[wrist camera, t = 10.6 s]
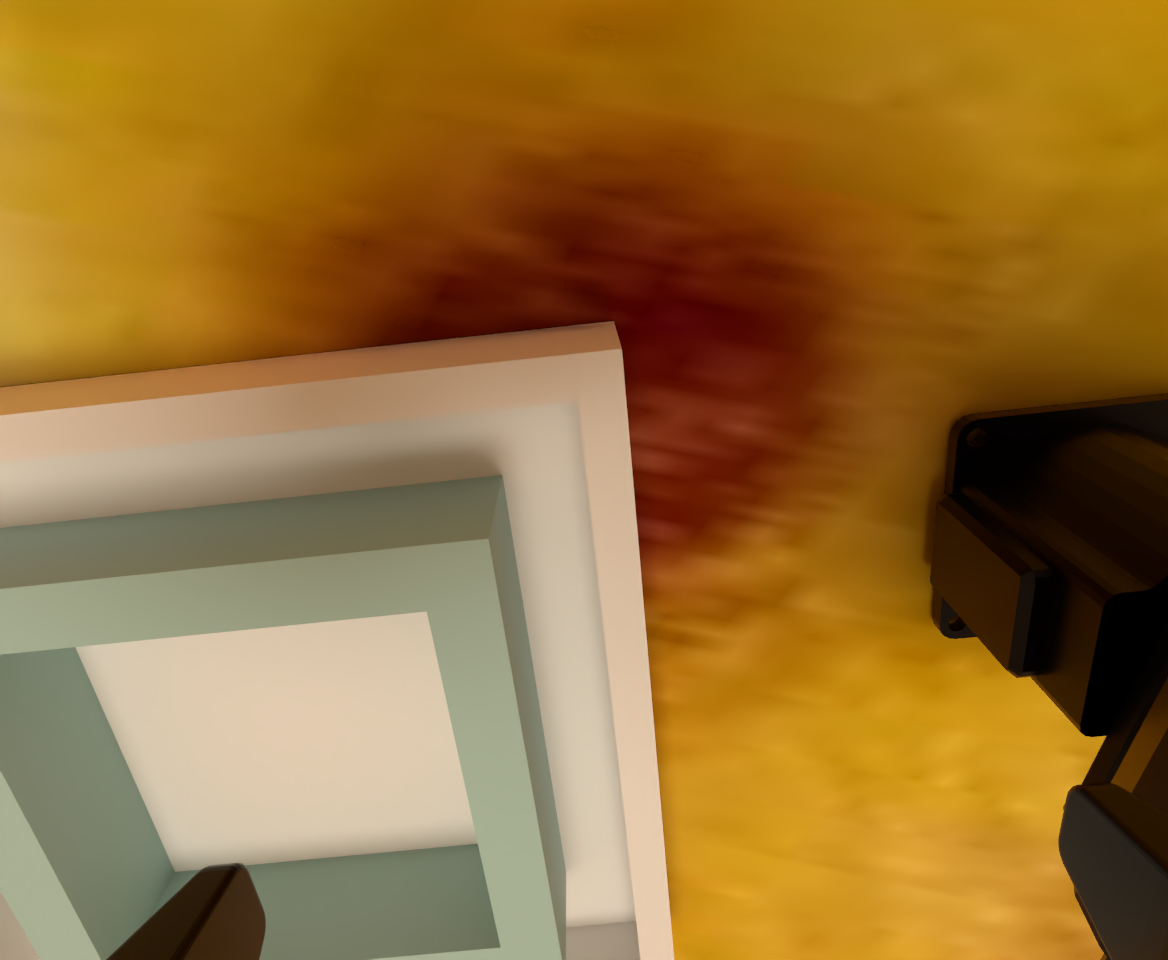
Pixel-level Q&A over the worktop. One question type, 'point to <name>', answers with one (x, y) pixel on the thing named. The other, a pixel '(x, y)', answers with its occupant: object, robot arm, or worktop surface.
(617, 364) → the tray
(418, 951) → the shallow green box
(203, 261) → the worktop surface
